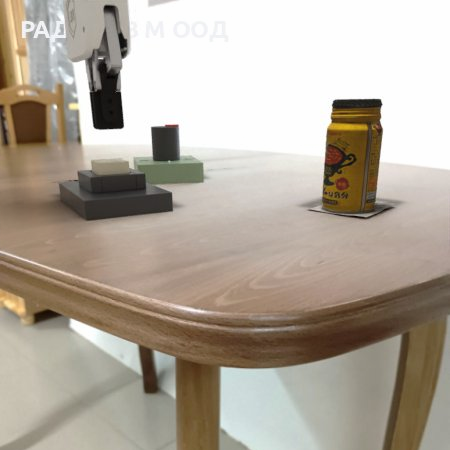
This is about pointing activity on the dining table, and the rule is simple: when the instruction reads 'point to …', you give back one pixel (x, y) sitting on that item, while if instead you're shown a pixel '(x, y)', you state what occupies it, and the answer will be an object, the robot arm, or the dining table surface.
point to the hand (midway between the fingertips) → (108, 128)
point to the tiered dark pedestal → (114, 195)
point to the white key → (110, 166)
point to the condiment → (353, 158)
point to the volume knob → (165, 143)
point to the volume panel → (170, 170)
